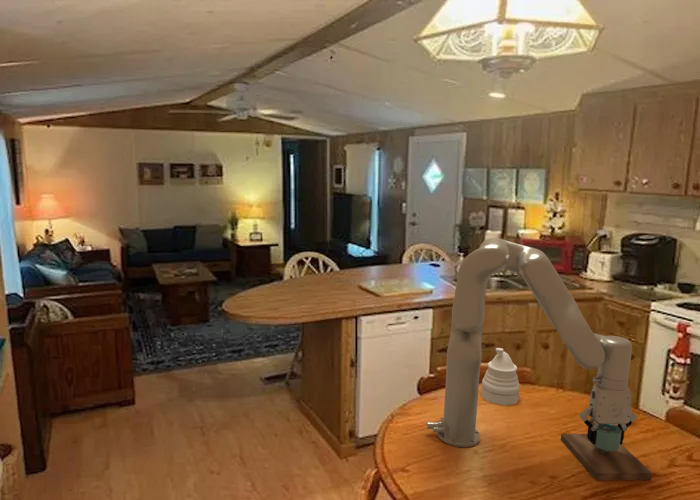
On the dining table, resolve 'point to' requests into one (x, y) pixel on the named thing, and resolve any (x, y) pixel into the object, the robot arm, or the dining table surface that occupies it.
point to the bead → (608, 437)
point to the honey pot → (501, 380)
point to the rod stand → (605, 459)
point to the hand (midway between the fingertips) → (604, 441)
